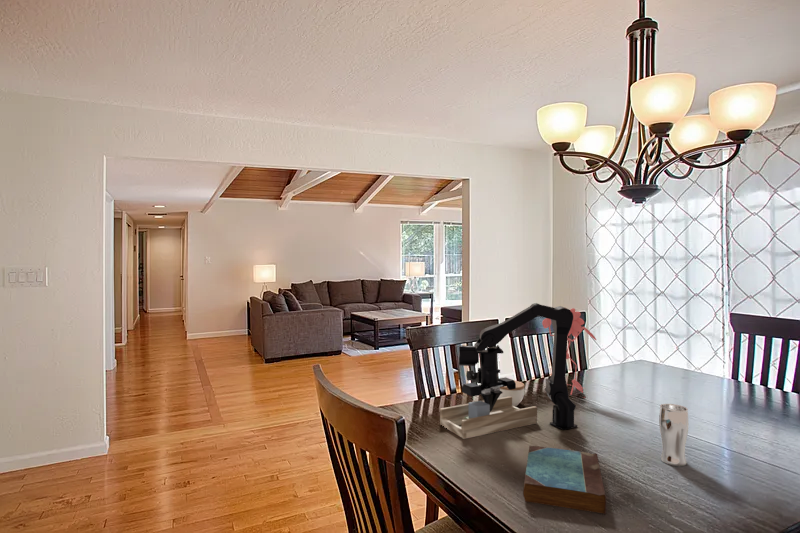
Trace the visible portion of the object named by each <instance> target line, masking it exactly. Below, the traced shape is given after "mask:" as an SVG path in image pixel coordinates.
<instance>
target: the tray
mask: <svg viewBox="0 0 800 533" xmlns="http://www.w3.org/2000/svg"><path fill="white" fill-rule="evenodd" d="M481 401H482V402H484V400H481ZM537 423H538V407H537V406H536V405H534V406H529V407H524V408H519V407H517V406H512V397H510V396H509V397H503V398H498V399H497V401H496V403H495V405H494V407H493V409H492V411H491V412H490V415H486V416H480V417H475V418H469V403H463V404H457V405H453V406H448V407H441V408H440V407H439V425H440V426H441V425H442V427H443V426H444V427H443V428H444V429H446V428H447V429H446V430H448V431H450V432H451V433H453V434H455V435H456V436H458V437H460V438H461V439H463V440H465V439H470V438H474V437H475V438H476V437H479V436H484V435H487V434H488V435H489V434H493V433H497V432H502V431H503V432H504V431H507V430H511V429H516V428H520V427H526V426H531V425H535V424H537Z"/></svg>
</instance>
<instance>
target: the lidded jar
mask: <svg viewBox="0 0 800 533" xmlns="http://www.w3.org/2000/svg"><path fill="white" fill-rule="evenodd" d="M514 381H515V383H516V389H512V390H509V389H508V388H507V386H505V387H500V391H502V392H503V393H502V394H500V396H499V398H503V397H509V396H510V397H512V406H515V407H517V406H518V405H519V404H520V403H521V402H522V400H524V395H525V387H526V386H525V384H524V383H523V382H521V381H518V380H514Z"/></svg>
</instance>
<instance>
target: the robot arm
mask: <svg viewBox="0 0 800 533" xmlns="http://www.w3.org/2000/svg"><path fill="white" fill-rule="evenodd" d="M537 317H542V318H544V319H545V318H548V319H551V322H552V323H551V325H552V329H553V333H554V334H553V335H554V336H553V348H552V349H553V352H552V361H553V362H552V368H551V376H550V377H549V378H545V388H544V391H545V392H546V395H547V397H548V398H549V400H550V401H551V403H553V405H552V421H551V422H549V425H552V426H553V427H556V428H558V429H560V430H563V431H565V430H570V429H574V428H578V425H577V424H575V410H576V407H577V406H576V404H575V403H574V402H573V401H572V399H571V398H570V397H569V395H570V394H569V389H568V385H567V384H568V383H567V379H566V371H567V370H566V369H567V365H566V364H567V359H566V355H567V353H568V352H567V348H568V340H567V339H568V338H569V336H568V334H569V331H570V329H571V326H572V322H573V313H572V312H571V311H570V308H567V307H564V306H561V305H560V306H555V307H553V306H548V305H543V304H540V303H537V302H535V303H531V305H529V306H528V307H526V308H524V309H523V310H520V311H519V312H518V313H516V314H515V315H513V316H511V317H509V318H507V319H505V320H503V321H502V322H500V323H497V324H493V325H490V326H488V327H485V328H483V329H481V331H480V332H479V338H478V339H477V340H476V342H475V343H474V345H464V344H463V345H459V346H458V348H459V349H458V366H460V367H463V366H465V367H476V365H478V364H479V363H480V367H478V368H477V371H476V372H474V370H467V371H466V376H465V377H466V379H467V381H471V382H468V383H464V384H463V385H462V386H461V392H462V393H464V394H465V395H468V396H470V397H477V396H480V395H481V397H482V399H483V401H484V402H485V403H487V404H489V405H490V412H491V411H492V409H493V407H494V405H495V403H496V401H497V399H498V398H499V396H500V394H502V393H503V392H502V391H500V387H505V386H507V388H508V389H509V390H512V389H516V383H515V381H516V380H514V379H512V378H509V377H507V376H505V377H500V378H499V377H498V375H499V374H500V373H501V369H499V368H498V366H499V365H498V364H499V363H498V362H499V361H498V360H499V359H498V358H499V357H498V355H499V354H504V351H503V348H501V347H500V346H499V345H498V344H499V343H500V342H501V341H502V340H504V338H505V337H506V336H508V334H510V333H512V332H513V331H515V330H517V329H518V328H520V327H522V326H524V325H525V324H527V323H529V322H530V321H532V320H534V319H536V318H537ZM479 354H480V355H479ZM479 358H480V359H479Z"/></svg>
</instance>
